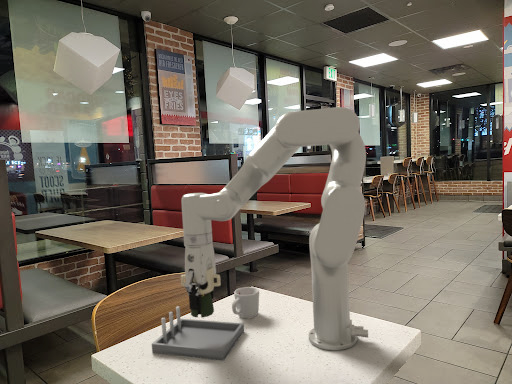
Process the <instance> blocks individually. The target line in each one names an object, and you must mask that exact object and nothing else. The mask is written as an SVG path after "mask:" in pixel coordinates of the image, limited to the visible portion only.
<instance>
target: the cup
mask: <svg viewBox="0 0 512 384" xmlns="http://www.w3.org/2000/svg"><path fill="white" fill-rule="evenodd" d="M233 293H234V294H233V295H234V300H233V302H232V304H231V309H232V314H234V315H238V316H239V317H240V318H243V319H252V318H255V317H256V316H258V314H259V309H260V308H259V306H260V304H259V303H260V290H259V288H257V287H253V286H246V287H245V286H244V287H239V288H236V289H235V291H233Z"/></svg>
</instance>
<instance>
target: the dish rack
mask: <svg viewBox="0 0 512 384" xmlns="http://www.w3.org/2000/svg"><path fill="white" fill-rule="evenodd" d="M175 311H176V312H175V313H176V322H175V323H174V313H173V311H169V312H168V318H169V328H168V330H167V324H166V323H167V322H166V317H161V329H162V330H161V332H162V335H160V336H158V338H157V339H156V340H154V341H153V342H152V343H151V352H152V354H156V355H166V356H172V357H173V356H174V357H184V358H192V359H203V360H211V361H220V362H223V361H225V359H226V358H227V356H228V355H229V354H230V352H231V351H232V350H233V348H234V347H235V345H237V343H238V341H239V339H241V337H242V336H243V334H244V332H245V325H244V323H242V322H229V321H219V320H218V321H214V320H204V319H203V320H202V319H190V318H181V307H180V306H179V305H178V306H176V307H175Z"/></svg>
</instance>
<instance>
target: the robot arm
mask: <svg viewBox="0 0 512 384" xmlns="http://www.w3.org/2000/svg"><path fill="white" fill-rule="evenodd" d="M359 130H360V119H359V117H358V115H357V114H356V112H355V111H354V110H352V109H351V108H347V107H344V106H342V107H341V106H336V107H327V108H319V109H318V108H317V109H307V110H294V111H289V112H286V113H284V114H283V115H281V116H279V118H278V120H277V122H276V123H275V125H274V126H273V128H272V129H271V130H270V131H269V132H268V133H267V134H266V135H265V137H264V138H262V140H261V141H260V142H259V143H258V144H257V145H256V146H255V148H253V150H251V152H249V154H248V155H247V157H246V158H245V159H244V162H243V164H242V165H241V167H240V169H239V170H238V171H237V172H236V174H235V175H234V176H233V177H232V178H231V180H229V182H228V183H227V184H226V185H225V186H224V187H223V189H221V190H220V191H219V192H215V193H211V194H210V193H209V194H208V193H205V192H193V193H187V194H183V195H182V197H181V214H182V215H181V216H182V230H183V231H182V232H183V245H184V246H183V247H185V248H184V249H185V250H184V275H185V278H184V279H185V284H184V289H186V292H187V295H188V301H189V302H188V303H189V304H188V305H189V310H190V311H191V310H201V309H202V305H201V295H199V292H200V285H204V284H205V283H206V282H207V279H206V278H207V276H206V271H207V270H209V269H211V267H213V274H217V266H216V265H217V264H216V257H215V249H214V245H213V228H212V221H216V222H217V221H218V222H226V221H230V220H232V219H233V218H234V217H235V216H236V214H237V213H238V212H239V211H240V210H241V209H242V207H243V206H245V204H246V203H248V201H249V200H250V199H251V198H252V197H253V196H254V194H256V193H257V191H259V190H260V188H261V187H262V186H264V185H265V184H267V183H268V182H269V181H270V180H271V179H272V178H273V177H275V175H276V174H277V173H278V172H279V171H280V169H281V168H282V167H283V166H284V165H285V164H286V163H287V162H288V161H289V160H290V159H291V157H292V156H293V155H294V154H295V153H296V152H298V150H299V149H300V148H302V147H304V148H305V147H315V146H316V147H317V146H327V145H328V146H329V149H330V151H331V162H330V165H329V166H330V167H329V172H328V175H327V179H326V182H325V186H324V189H323V192H322V193H321V194H322V195H321V198H320V199H321V200H320V202H321V207H322V212H321V216H320V220H319V223H317V224H316V225H315V226H314V227H313V228H312V229H311V232H310V234H309V239H308V240H309V241H308V242H309V243H308V244H309V256H310V268H311V271H310V272H311V289H312V290H311V291H312V309H313V310H312V311H313V313H312V314H313V328H312V329H311V330H310V331H309V333H308V340H309V341H308V342H310V344H312V345H313V346H314V347H316V348H320V349H323V350H326V351H327V350H328V351H340V350H342V351H343V350H347V349H349V348H351V347H353V346H355V344H356V343H357V342H358V340H357V339H358V337H360V338H369V329H364V328H365V327H364V325H355V324H353V320H352V319H351V309H350V291H349V288H350V287H349V282H350V280H349V266H348V265H349V264H348V262H349V261H350V259H352V257H353V254H354V252H355V250H356V249H355V248H356V246H357V242H358V239H359V236H360V232H361V229H362V225H363V221H364V217H365V212H366V200H365V197H364V194H363V192H362V191H361V189H360V188H361V184H362V181H363V177H364V176H363V175H364V172H365V168H366V159H367V152H366V146H365V143H364V139H363V138H362V136H361V134H360V132H359ZM194 277H195V279H196V281H197V283H192V281H193V278H194ZM196 285H197V287H196V289H195V288H194V287H193V286H196ZM210 294H211V297H212V300H213V299H214V290H213V291H211V292H210Z"/></svg>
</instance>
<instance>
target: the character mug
mask: <svg viewBox="0 0 512 384" xmlns="http://www.w3.org/2000/svg"><path fill="white" fill-rule="evenodd" d="M206 276H207V278H206V279H207V282H206V283H205V284H204V285H200V292H199V295H201V305H202V309H201V310H191V309H190V316H192V317H193V318H199V315H200V317H201V318H206V317H210V316H212V315H213V314H214V312H215V309H214V303H213V299H212V297H211V294H210V292H211V291H213V292H214V289H215V287H220V286H221V275H220V274H217V273H216V274H213V267H211V269H209V270H207V271H206ZM215 279H216V282H215ZM180 280H181V281H180V283H181V287H184V284H185V282H186V278H185V274H181V275H180ZM192 283H197V281H196V279H195V277H194V278H193V281H192ZM193 287H194V288H195V289H196V287H197V285H196V286H193ZM184 288H185V287H184Z"/></svg>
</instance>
